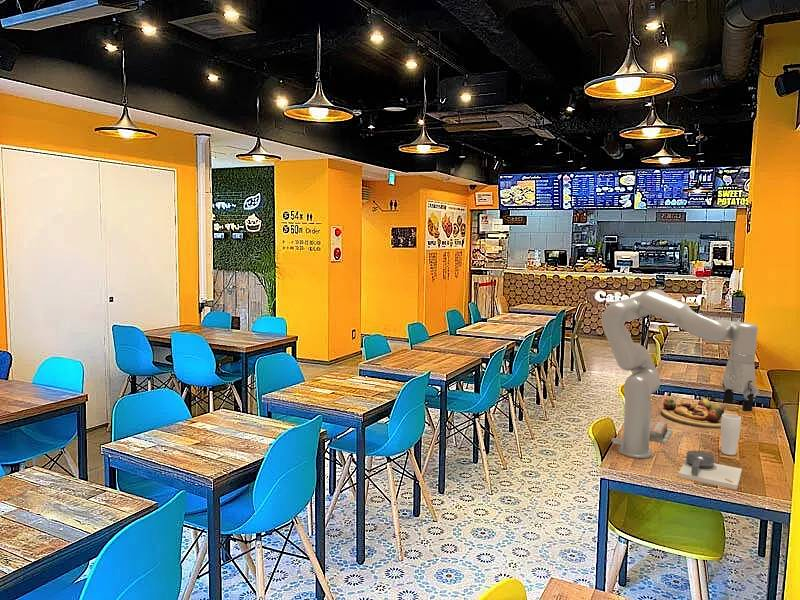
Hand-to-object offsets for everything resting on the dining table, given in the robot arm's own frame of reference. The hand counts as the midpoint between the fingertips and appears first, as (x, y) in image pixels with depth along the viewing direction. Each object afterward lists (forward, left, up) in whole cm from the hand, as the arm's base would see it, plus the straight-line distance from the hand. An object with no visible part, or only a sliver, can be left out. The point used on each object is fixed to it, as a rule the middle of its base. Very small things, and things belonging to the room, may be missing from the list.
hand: (737, 406), depth 209 cm
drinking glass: (-3, +26, -26) cm, 37 cm away
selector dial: (-10, -3, -23) cm, 26 cm away
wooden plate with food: (-21, +72, -26) cm, 80 cm away
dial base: (-6, -3, -25) cm, 26 cm away
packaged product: (-31, +32, -26) cm, 52 cm away
